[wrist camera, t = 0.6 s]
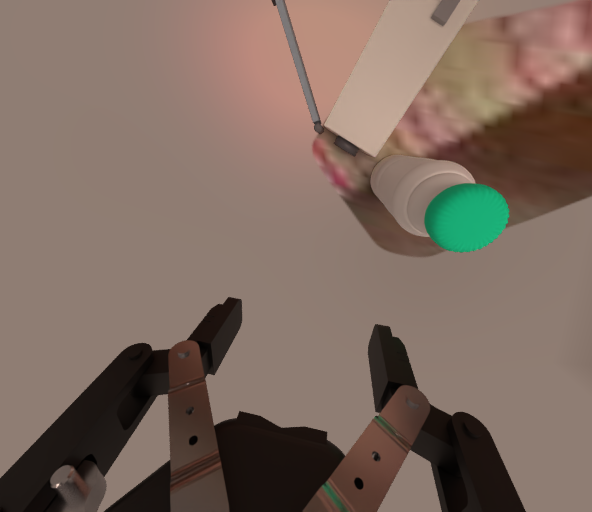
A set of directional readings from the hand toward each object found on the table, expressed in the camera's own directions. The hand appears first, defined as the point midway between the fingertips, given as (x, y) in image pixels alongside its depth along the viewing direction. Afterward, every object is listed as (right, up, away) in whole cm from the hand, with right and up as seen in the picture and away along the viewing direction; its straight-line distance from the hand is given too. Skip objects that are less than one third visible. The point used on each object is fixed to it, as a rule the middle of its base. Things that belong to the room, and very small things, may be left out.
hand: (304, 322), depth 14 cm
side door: (0, +31, +20) cm, 37 cm away
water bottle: (+15, +17, +24) cm, 33 cm away
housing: (+12, +29, +19) cm, 36 cm away
